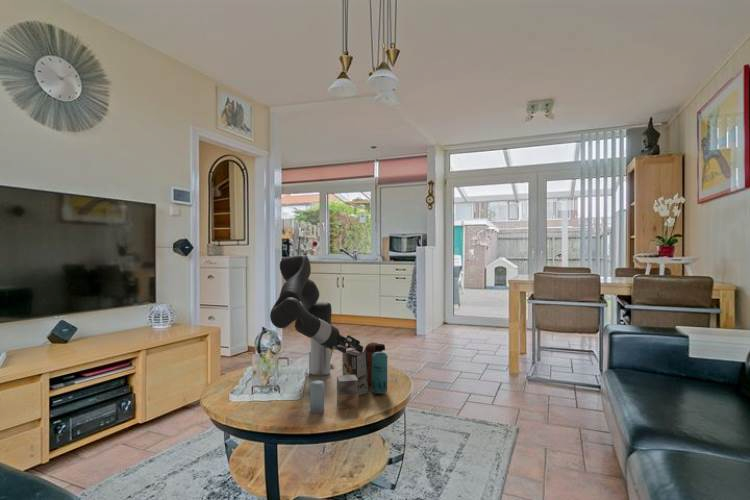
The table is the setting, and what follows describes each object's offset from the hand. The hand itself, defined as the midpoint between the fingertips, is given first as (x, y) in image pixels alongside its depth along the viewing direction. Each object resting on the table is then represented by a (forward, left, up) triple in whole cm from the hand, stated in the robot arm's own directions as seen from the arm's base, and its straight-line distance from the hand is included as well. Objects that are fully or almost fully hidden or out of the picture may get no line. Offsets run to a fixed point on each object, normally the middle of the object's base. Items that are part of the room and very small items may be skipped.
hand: (353, 350), depth 150 cm
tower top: (-4, +2, -16) cm, 17 cm away
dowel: (-9, -9, -21) cm, 25 cm away
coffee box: (-10, +15, -21) cm, 28 cm away
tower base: (-4, +2, -21) cm, 22 cm away
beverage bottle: (0, +18, -21) cm, 28 cm away
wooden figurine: (-9, +27, -21) cm, 36 cm away
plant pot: (-49, +41, -21) cm, 68 cm away
